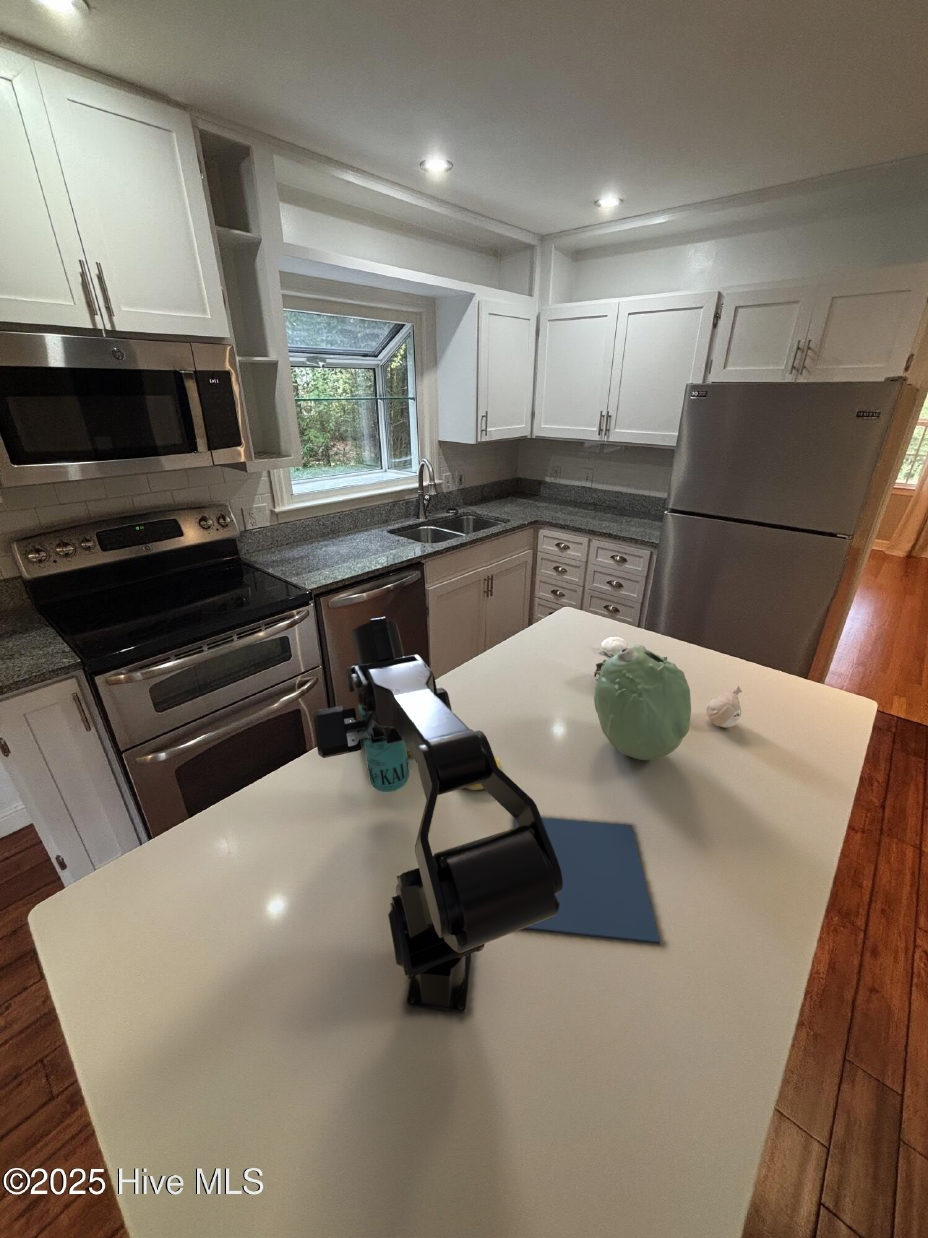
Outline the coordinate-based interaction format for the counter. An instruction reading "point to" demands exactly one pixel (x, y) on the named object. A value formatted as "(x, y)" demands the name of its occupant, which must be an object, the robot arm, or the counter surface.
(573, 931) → the cloth
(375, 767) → the beverage bottle
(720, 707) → the garlic bulb
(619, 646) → the dumpling
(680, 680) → the cabbage
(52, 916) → the counter surface
